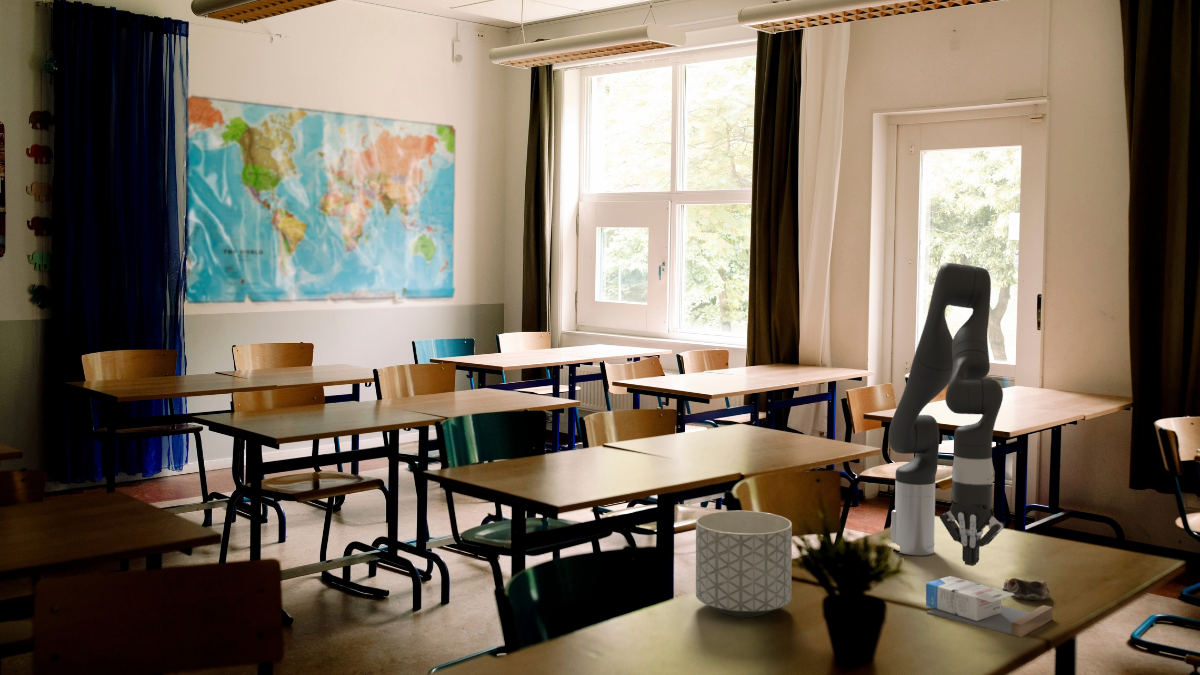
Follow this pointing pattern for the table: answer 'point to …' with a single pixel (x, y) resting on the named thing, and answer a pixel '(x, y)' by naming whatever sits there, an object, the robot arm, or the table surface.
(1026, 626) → the stop rail
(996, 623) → the mat
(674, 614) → the table surface
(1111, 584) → the table surface
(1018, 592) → the rock
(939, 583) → the ink box
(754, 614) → the planter
